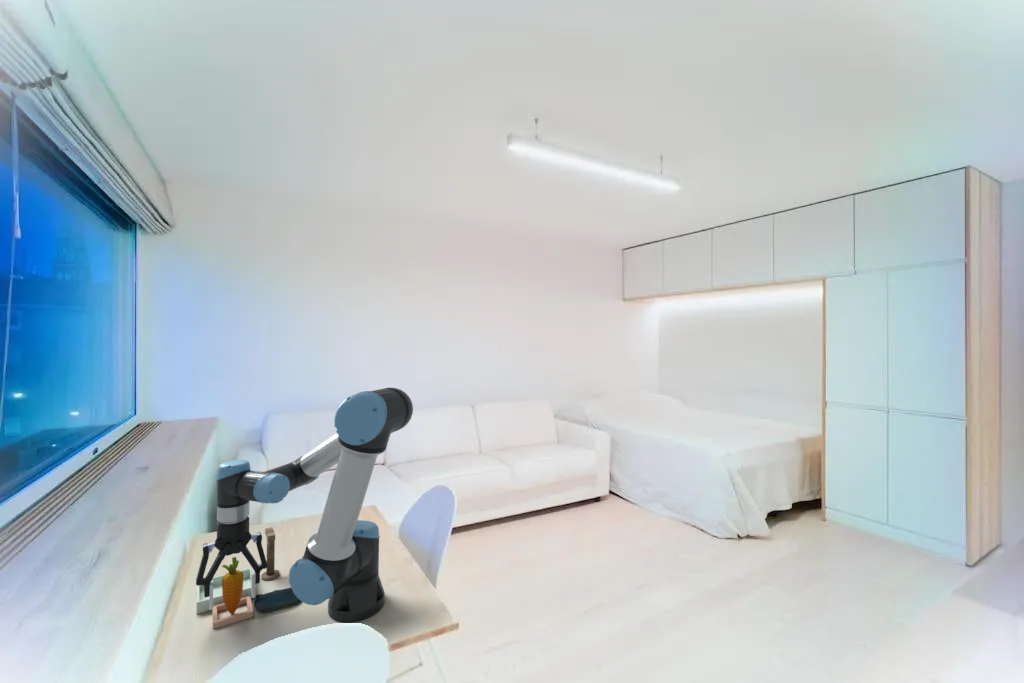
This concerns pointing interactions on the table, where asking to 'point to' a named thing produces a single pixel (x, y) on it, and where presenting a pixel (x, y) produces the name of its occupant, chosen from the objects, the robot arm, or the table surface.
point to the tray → (217, 591)
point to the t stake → (270, 556)
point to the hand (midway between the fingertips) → (232, 601)
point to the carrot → (232, 586)
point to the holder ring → (232, 618)
